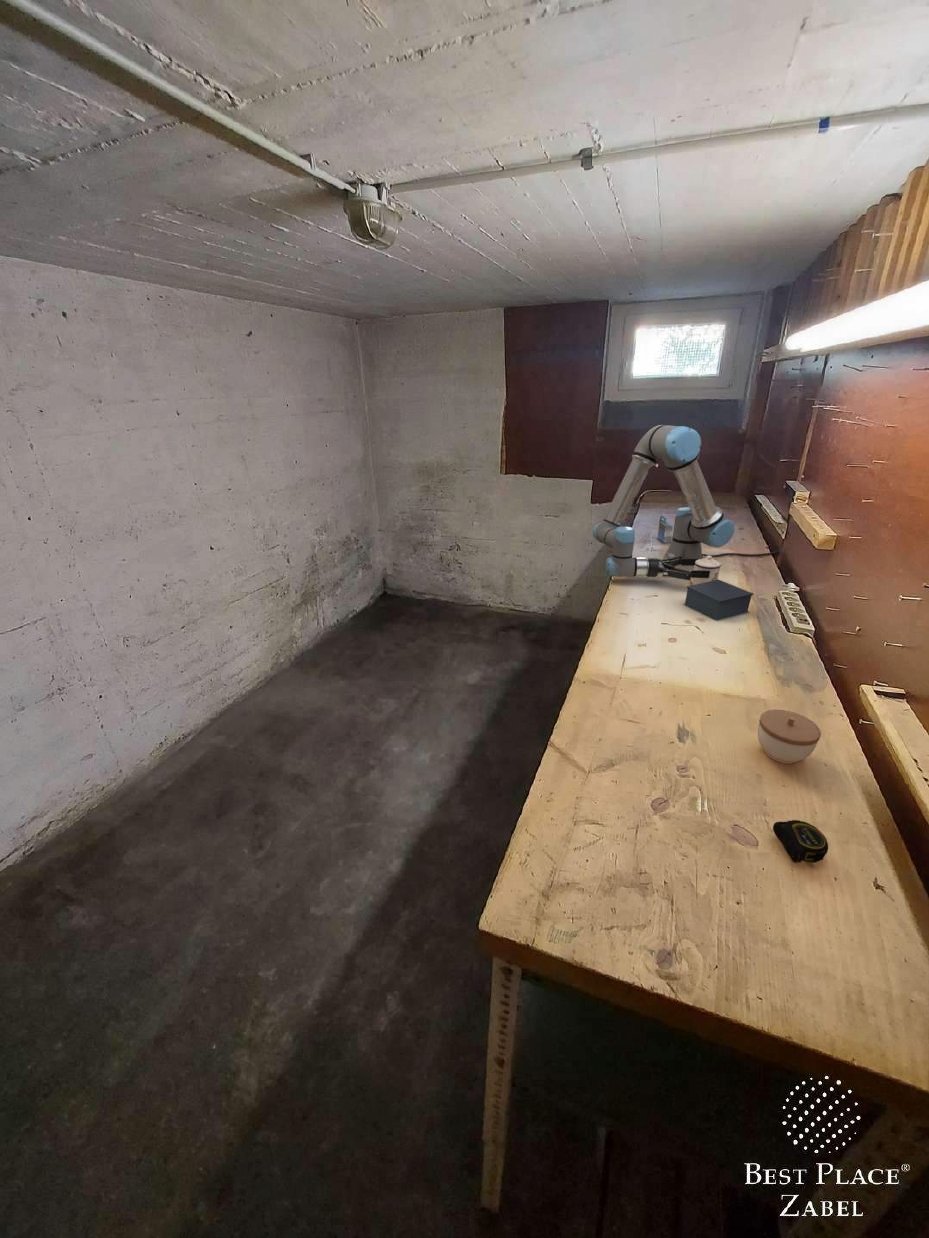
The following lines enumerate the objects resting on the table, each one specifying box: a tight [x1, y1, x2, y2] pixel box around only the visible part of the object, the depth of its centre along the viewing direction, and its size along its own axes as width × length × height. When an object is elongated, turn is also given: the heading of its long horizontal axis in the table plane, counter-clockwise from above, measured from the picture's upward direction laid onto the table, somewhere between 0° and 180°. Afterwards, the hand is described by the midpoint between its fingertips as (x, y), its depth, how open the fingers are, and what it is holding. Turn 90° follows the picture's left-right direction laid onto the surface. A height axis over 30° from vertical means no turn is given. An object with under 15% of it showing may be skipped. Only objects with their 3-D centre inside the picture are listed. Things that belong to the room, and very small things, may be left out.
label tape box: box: [657, 514, 674, 544], centre depth 238 cm, size 9×4×12 cm, turn 179°
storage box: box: [684, 579, 754, 621], centre depth 167 cm, size 15×15×7 cm
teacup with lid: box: [691, 556, 722, 585], centre depth 186 cm, size 12×9×12 cm
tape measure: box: [772, 819, 829, 864], centre depth 82 cm, size 7×7×4 cm
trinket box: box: [757, 709, 822, 765], centre depth 101 cm, size 11×11×9 cm
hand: (704, 568), depth 186 cm, fingers open, 13 cm apart
